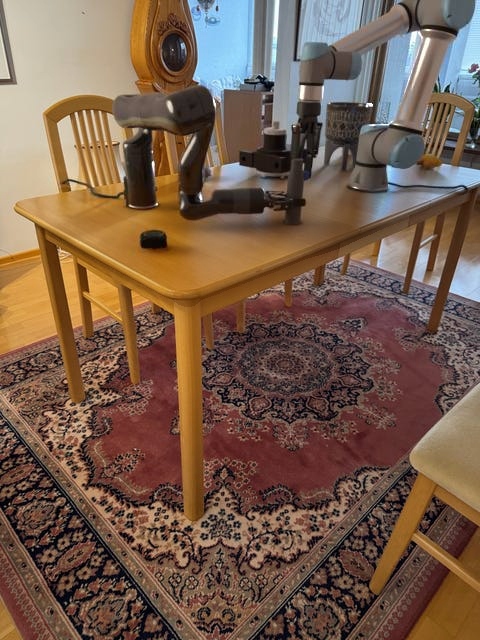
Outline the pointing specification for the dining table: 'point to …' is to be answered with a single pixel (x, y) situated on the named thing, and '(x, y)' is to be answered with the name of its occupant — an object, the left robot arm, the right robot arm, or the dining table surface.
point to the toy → (429, 161)
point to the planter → (345, 128)
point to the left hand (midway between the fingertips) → (302, 199)
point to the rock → (207, 172)
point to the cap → (306, 175)
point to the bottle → (295, 190)
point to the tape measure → (153, 239)
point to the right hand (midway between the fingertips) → (302, 178)
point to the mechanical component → (271, 154)
